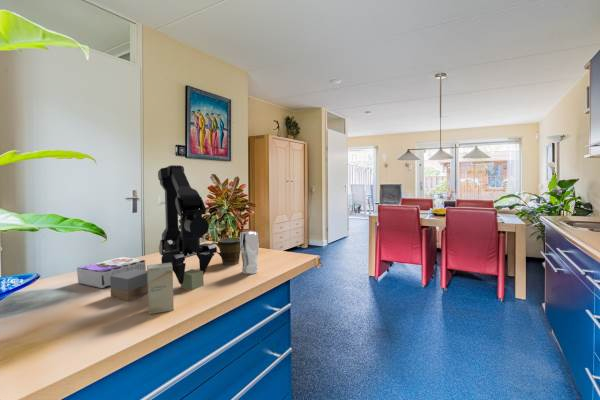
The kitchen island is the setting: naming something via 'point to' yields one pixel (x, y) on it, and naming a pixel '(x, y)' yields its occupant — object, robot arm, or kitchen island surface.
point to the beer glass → (249, 251)
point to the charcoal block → (129, 279)
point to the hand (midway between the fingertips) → (192, 279)
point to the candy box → (107, 271)
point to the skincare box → (160, 287)
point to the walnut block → (129, 293)
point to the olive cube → (192, 279)
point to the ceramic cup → (229, 250)
